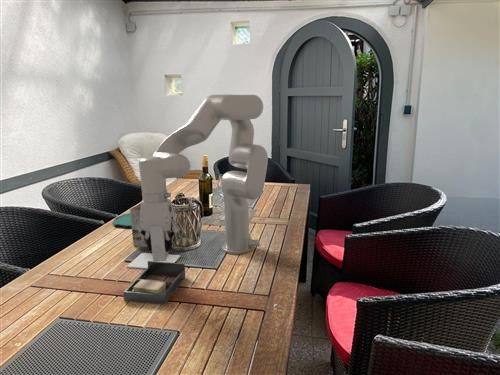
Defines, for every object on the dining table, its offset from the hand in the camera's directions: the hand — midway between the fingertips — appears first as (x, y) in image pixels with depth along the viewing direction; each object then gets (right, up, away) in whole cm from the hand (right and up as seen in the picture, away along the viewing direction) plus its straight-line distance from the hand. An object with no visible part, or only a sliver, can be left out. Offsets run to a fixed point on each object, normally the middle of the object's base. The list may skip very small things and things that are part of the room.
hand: (160, 249), depth 120 cm
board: (-6, -8, +18) cm, 20 cm away
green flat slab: (-23, +2, +62) cm, 66 cm away
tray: (-1, -12, -1) cm, 12 cm away
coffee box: (-15, -3, +36) cm, 39 cm away
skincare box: (0, -3, +1) cm, 3 cm away
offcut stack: (-2, -14, -6) cm, 15 cm away
